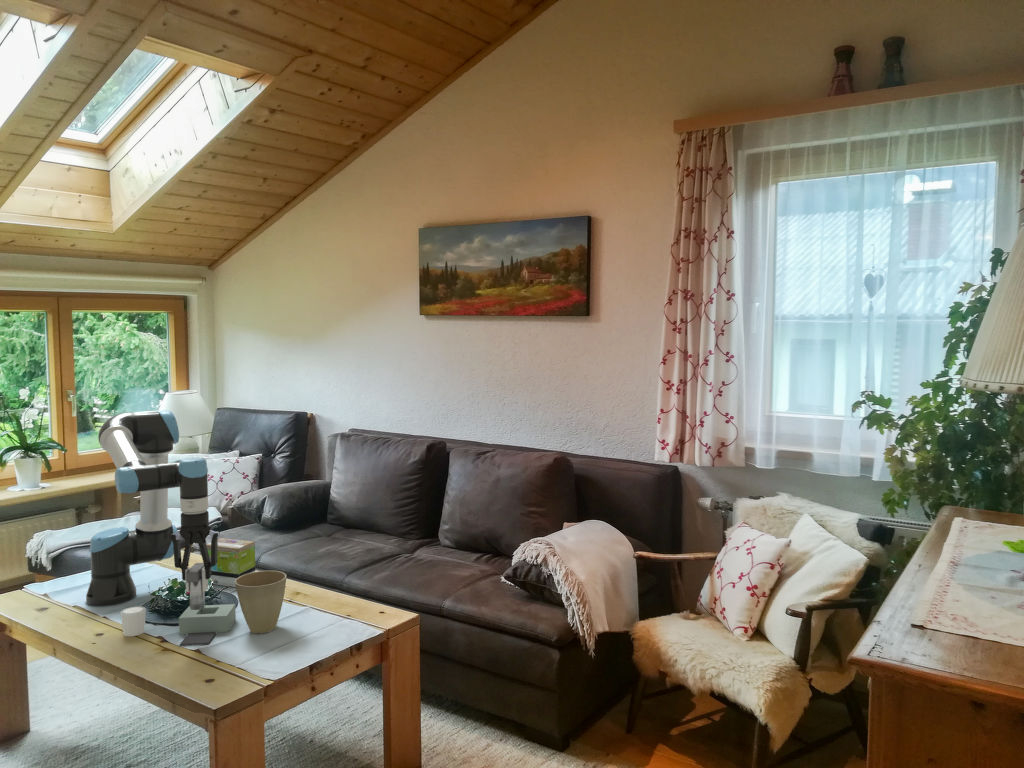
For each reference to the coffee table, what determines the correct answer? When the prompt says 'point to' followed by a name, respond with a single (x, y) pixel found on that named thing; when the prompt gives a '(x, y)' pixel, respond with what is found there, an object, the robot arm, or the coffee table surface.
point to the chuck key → (196, 586)
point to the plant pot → (261, 599)
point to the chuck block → (207, 619)
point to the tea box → (232, 561)
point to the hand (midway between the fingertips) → (197, 589)
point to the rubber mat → (198, 638)
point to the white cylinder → (133, 620)
